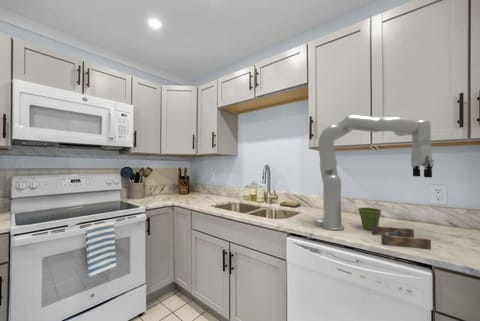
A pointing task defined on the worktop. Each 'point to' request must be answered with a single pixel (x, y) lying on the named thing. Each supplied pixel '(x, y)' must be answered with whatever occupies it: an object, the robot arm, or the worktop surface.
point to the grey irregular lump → (395, 233)
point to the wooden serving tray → (401, 238)
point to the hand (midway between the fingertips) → (422, 176)
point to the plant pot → (369, 217)
